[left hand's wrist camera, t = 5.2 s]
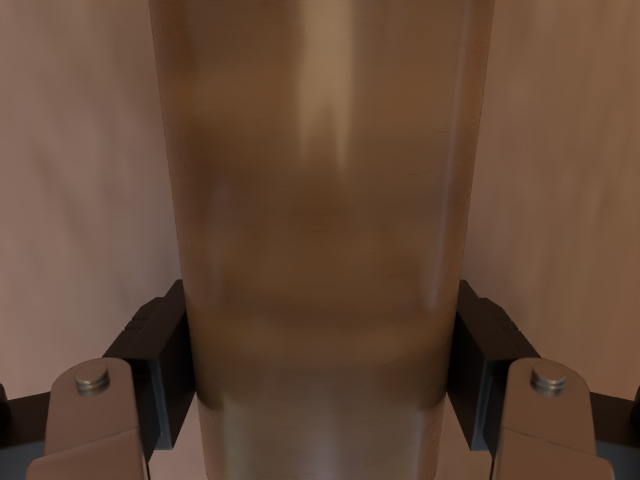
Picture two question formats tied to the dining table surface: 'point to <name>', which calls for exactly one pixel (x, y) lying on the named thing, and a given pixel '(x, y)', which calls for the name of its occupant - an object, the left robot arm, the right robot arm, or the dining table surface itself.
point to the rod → (321, 223)
